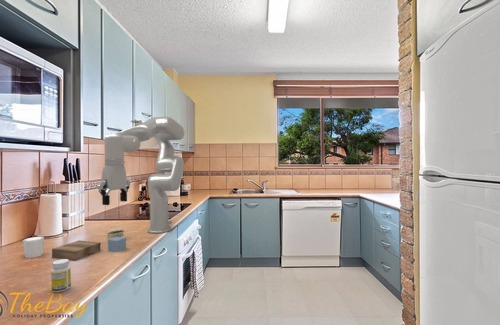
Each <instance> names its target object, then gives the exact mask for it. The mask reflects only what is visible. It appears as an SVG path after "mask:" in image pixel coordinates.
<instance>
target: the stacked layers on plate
mask: <svg viewBox="0 0 500 325" xmlns="http://www.w3.org/2000/svg"><path fill="white" fill-rule="evenodd" d="M124 229H125V228H124V227H113V228H111V229H108V230H106V232H107V233H106V239H107V243H108V240H109V239H112V238H115V237H125V234H124V233H125V230H124Z"/></svg>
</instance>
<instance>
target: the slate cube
mask: <svg viewBox="0 0 500 325" xmlns="http://www.w3.org/2000/svg"><path fill="white" fill-rule="evenodd" d="M126 249H127V237H125V236H123V237H115V238H112V239H109V240H108V242H107V251H108V253H109V252H111V253H119V252H122V251H124V250H126Z"/></svg>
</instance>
